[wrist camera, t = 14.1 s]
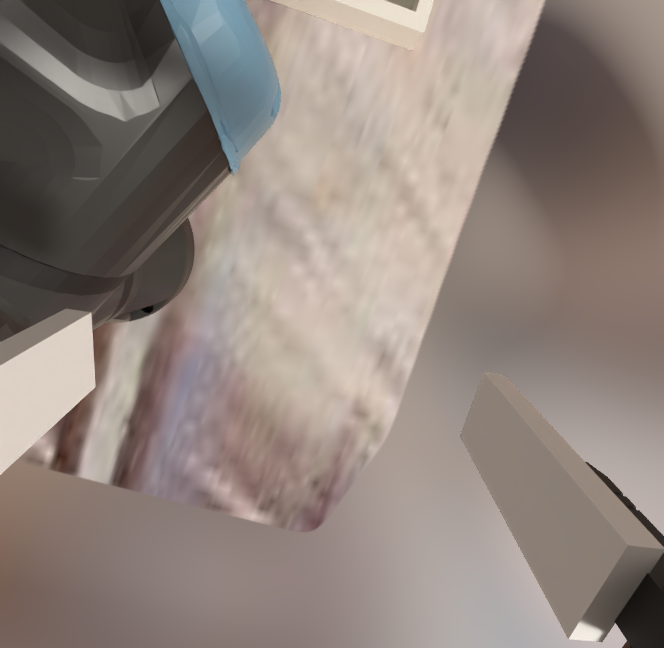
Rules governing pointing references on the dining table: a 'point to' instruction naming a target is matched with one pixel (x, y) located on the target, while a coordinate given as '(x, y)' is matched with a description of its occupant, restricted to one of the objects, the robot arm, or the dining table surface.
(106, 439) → the dining table surface
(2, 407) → the robot arm
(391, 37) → the tray
